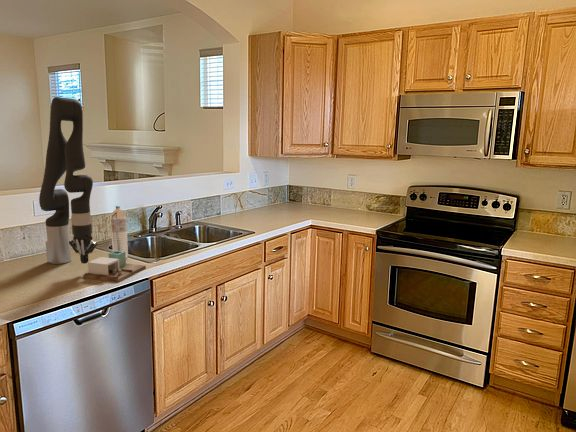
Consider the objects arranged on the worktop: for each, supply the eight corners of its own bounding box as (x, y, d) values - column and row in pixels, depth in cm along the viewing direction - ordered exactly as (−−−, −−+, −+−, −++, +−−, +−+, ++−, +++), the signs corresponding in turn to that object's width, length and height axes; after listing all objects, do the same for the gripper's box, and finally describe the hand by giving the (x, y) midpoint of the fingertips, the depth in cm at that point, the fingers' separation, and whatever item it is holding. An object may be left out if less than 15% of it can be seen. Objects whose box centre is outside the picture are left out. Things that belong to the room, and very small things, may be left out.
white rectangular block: (88, 273, 181) (87, 262, 180) (101, 268, 189) (100, 257, 188) (107, 276, 179) (106, 264, 178) (119, 270, 186) (119, 259, 186)
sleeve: (109, 266, 192) (108, 253, 191) (116, 263, 197) (115, 250, 195) (119, 267, 191) (118, 254, 189) (126, 264, 195) (125, 251, 194)
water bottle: (113, 256, 212) (110, 205, 207) (128, 255, 214) (125, 204, 209) (112, 260, 206) (109, 207, 201) (128, 258, 208) (125, 207, 203)
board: (83, 277, 181) (82, 263, 180) (112, 264, 199) (112, 251, 198) (118, 282, 177) (117, 267, 176) (145, 268, 195) (145, 254, 194)
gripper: (101, 222, 184) (103, 262, 188) (74, 220, 188) (77, 259, 191) (88, 226, 177) (91, 267, 180) (61, 223, 181) (65, 264, 184)
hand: (84, 262), depth 186 cm, fingers closed
